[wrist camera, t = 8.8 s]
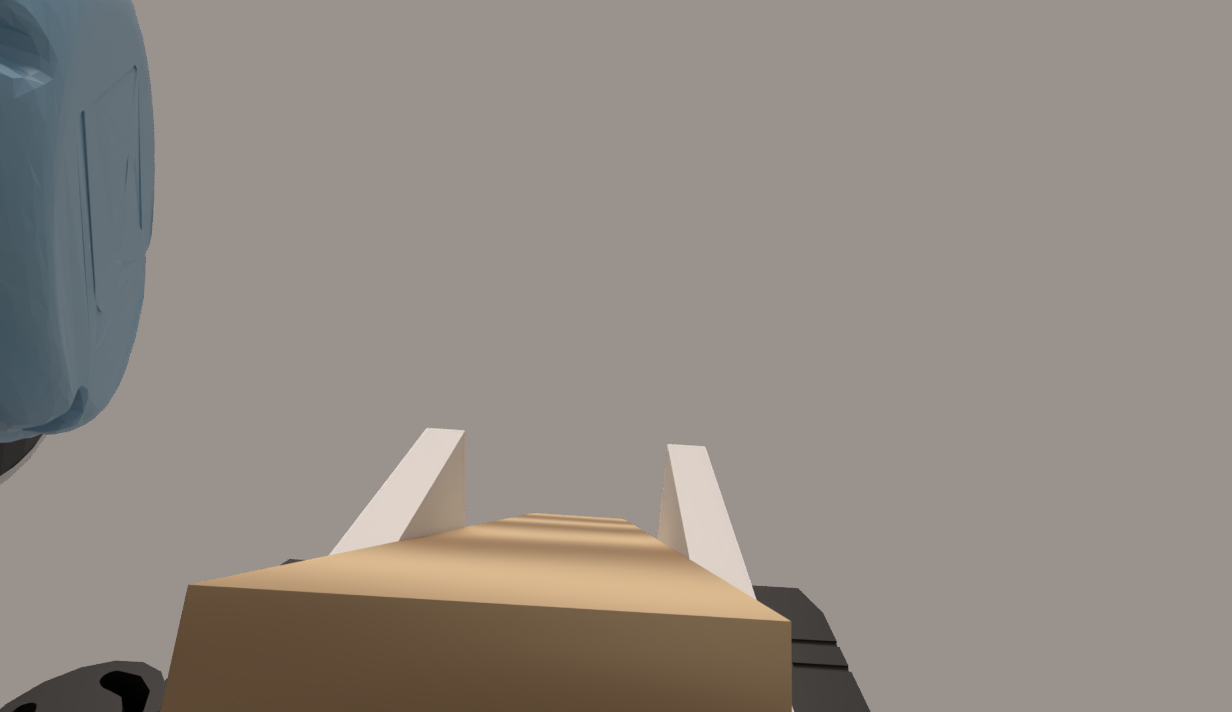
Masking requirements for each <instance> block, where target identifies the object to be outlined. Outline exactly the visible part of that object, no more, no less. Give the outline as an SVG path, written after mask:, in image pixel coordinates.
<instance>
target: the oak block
mask: <svg viewBox="0 0 1232 712" xmlns="http://www.w3.org/2000/svg"><path fill="white" fill-rule="evenodd" d="M160 712H792V654H791V621H790V620H788V619H786V618H785V617H783V616H782V615H780V614H778V613H777V612H775V611H773V610H772V609H770V608H769V607H767V606H765V605H764V604H762V603H760V602H759V601H757V600H755V599H754V598H752V597H751V596H749V595H747V594H746V593H744V592H742V591H741V590H739V589H737V588H736V587H734V586H733V585H731V584H729V583H728V582H726V581H724V580H723V579H721V578H720V577H718V576H716V575H715V574H713V573H711V572H710V571H708V570H706V569H705V568H703V567H702V566H700V565H698V564H697V563H695V562H693V561H692V560H689V559H688V558H686V557H685V556H683V555H681V554H680V553H678V552H677V551H675V550H673V549H672V548H670V547H668V546H667V545H665V544H664V543H662V542H660V541H659V540H657V539H656V538H654V537H652V536H651V535H649V534H647V533H646V532H644V531H643V530H641V529H639V528H638V527H636V526H634V525H633V524H631V523H630V522H628V521H626V520H625V519H617V518H602V517H587V516H571V515H555V514H540V513H531V514H526V515H522V516H517V517H512V518H507V519H502V520H498V521H493V522H488V523H483V524H478V525H474V526H469V527H465V528H460V529H455V530H450V531H445V532H441V533H436V534H431V535H426V536H422V537H417V538H412V539H407V540H402V541H396V542H391V543H387V544H382V545H377V546H372V547H367V548H363V549H358V550H353V551H348V552H343V553H338V554H334V555H329V556H324V557H319V558H314V559H310V560H305V561H300V562H295V563H290V564H285V565H281V566H276V567H271V568H267V569H262V570H257V571H252V572H248V573H242V574H237V575H233V576H228V577H223V578H218V579H213V580H209V581H204V582H199V583H194V584H189V585H188V588H187V593H186V597H185V602H184V606H183V611H182V615H181V620H180V624H179V629H178V633H177V638H176V642H175V647H174V652H173V656H172V661H171V665H170V670H169V675H168V679H167V683H166V688H165V693H164V697H163V702H162V706H161V711H160Z"/></svg>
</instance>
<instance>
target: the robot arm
mask: <svg viewBox="0 0 1232 712" xmlns="http://www.w3.org/2000/svg"><path fill="white" fill-rule="evenodd" d="M153 122H154V121H153V108H152V95H151V85H150V78H149V70H148V63H147V57H146V52H145V47H144V42H143V37H142V33H141V30H140V27H139V24H138V20H137V16H136V13H135V9H134V5H133V3H132V0H0V484H2V483H3V482H4V481H6V480H7V479H8V478H10V477H11V476H12V475H13V474H14V473H15V472H16V471H17V470H18V469H19V468H20V467H21V466H22V465H23V464H24V463H25V462H27V461H28V459H29V458H31V456H32V455H33V453H34V452H35V451H36V449H37V448H38V447H39V445H40V444H41V442H42V441H43V440H44V438H45V437H46V435H49V434H57V433H63V432H68V431H71V430H74V429H76V428H78V427H80V426H83V425H85V424H86V423H88V422H89V421H91V420H92V419H94V418H95V417H96V416H97V415H98V414H99V413H100V412H101V411H102V410H103V409H104V408H105V407H106V406H107V405H108V403H109V401H110V400H111V398H112V397H113V395H114V393H115V391H116V390H117V388H118V386H119V384H120V382H121V379H122V377H123V375H124V372H125V369H126V367H127V364H128V360H129V356H130V353H131V350H132V346H133V343H134V340H135V336H136V332H137V328H138V323H139V318H140V313H141V308H142V303H143V298H144V283H145V263H146V257H145V253H146V251H147V249H148V247H149V244H150V240H151V234H152V222H153V203H154V169H155V168H154V123H153ZM460 528H465V430H450V429H434V428H426V430H425V431H424V432H423V433H422V435H421V436H420V437H419V439H418V440H417V441H416V443H415V444H414V445H413V447H412V448H411V449H410V450H409V452H408V453H407V455H406V456H405V457H404V458H403V460H402V461H401V462H400V463H399V465H398V466H397V467H396V469H395V470H394V472H393V473H392V474H391V475H390V476H389V478H388V479H387V480H386V482H385V483H384V484H383V486H382V487H381V488H380V489H379V491H378V492H377V493H376V495H375V496H374V497H373V499H372V500H371V501H370V503H369V504H368V505H367V507H366V508H365V509H364V510H363V512H362V513H361V514H360V516H359V517H358V518H357V519H356V521H355V522H354V523H353V525H352V526H351V527H350V529H349V530H348V531H347V533H346V534H345V535H344V536H343V538H342V539H341V540H340V542H339V543H338V544H337V546H336V547H335V548H334V549H333V551H332V552H331V553H330V555H334V554H338V553H343V552H348V551H353V550H358V549H363V548H367V547H372V546H377V545H382V544H387V543H391V542H396V541H402V540H407V539H412V538H417V537H422V536H426V535H431V534H436V533H441V532H445V531H450V530H455V529H460ZM657 540H659V541H660V542H662V543H664V544H665V545H667V546H668V547H670V548H672V549H673V550H675V551H677V552H678V553H680V554H681V555H683V556H685V557H686V558H688V559H689V560H692V561H693V562H695V563H697V564H698V565H700V566H702V567H703V568H705V569H706V570H708V571H710V572H711V573H713V574H715V575H716V576H718V577H720V578H721V579H723V580H724V581H726V582H728V583H729V584H731V585H733V586H734V587H736V588H737V589H739V590H741V591H742V592H744V593H746V594H747V595H749V596H751V597H752V598H754V599H755V600H757V601H759V602H760V603H762V604H764V605H765V606H767V607H769V608H770V609H772V610H773V611H775V612H777V613H778V614H780V615H782V616H783V617H785V618H786V619H788V620H790V621H791V654H792V712H870V710H869V708H868V706H867V704H866V702H865V700H864V698H863V696H862V693H861V691H860V689H859V687H858V685H857V683H856V681H855V679H854V677H853V675H852V673H851V672H849V671H848V664H847V663H846V660H845V658H844V656H843V654H842V652H841V650H840V647H837V645H836V642H837V641H836V639H835V637H834V635H833V633H832V631H831V629H830V627H829V625H828V623H827V620H826V618H825V616H824V614H823V612H822V611H820V610H819V609H818V608H817V607H816V606H815V605H814V604H813V603H812V602H811V601H810V600H809V599H808V598H807V597H806V596H805V595H804V594H803V593H802V592H801V591H800V590H799V589H798V588H784V587H767V586H752V585H751V582H750V579H749V576H748V573H747V570H746V567H745V564H744V561H743V558H742V555H741V552H740V549H739V546H738V543H737V540H736V537H735V534H734V531H733V528H732V525H731V522H730V519H729V516H728V513H727V510H726V507H725V504H724V502H723V498H722V495H721V492H720V490H719V486H718V484H717V480H716V478H715V475H714V472H713V469H712V466H711V463H710V460H709V457H708V454H707V451H706V448H705V446H690V445H673V444H667V452H666V462H665V471H664V480H663V490H662V500H661V509H660V519H659V528H658V538H657ZM300 561H305V560H294V559H289V560H288V561H286V562H284V563H283V564H281V565H285V564H290V563H295V562H300ZM281 565H280V566H281ZM167 679H168V678H167ZM167 679H166V680H165V681H164V679H163V676H162V673H161V671H159V670H157V669H155V668H153V667H151V666H149V665H147V664H146V663H143V662H128V661H112V662H107V663H102V664H97V665H92V666H86V667H81V668H79V669H76V670H74V671H71V672H68V673H66V674H64V675H61V676H58V677H56V678H53V679H51V680H48V681H45V682H43V683H42V684H40V685H38V686H36V687H34V688H33V689H31V690H30V691H28V692H26V693H24V694H22V695H21V696H19V697H17V698H16V699H14V700H12V701H11V702H9V703H7V704H6V705H5V706H4V707H2V708H1V709H0V712H160V711H161V706H162V702H163V697H164V693H165V688H166V683H167Z"/></svg>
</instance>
